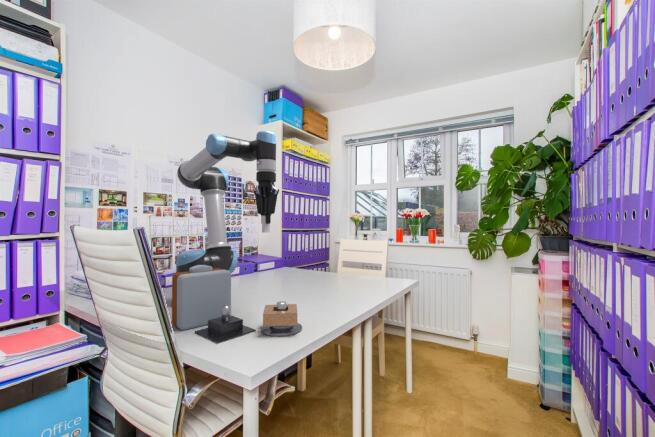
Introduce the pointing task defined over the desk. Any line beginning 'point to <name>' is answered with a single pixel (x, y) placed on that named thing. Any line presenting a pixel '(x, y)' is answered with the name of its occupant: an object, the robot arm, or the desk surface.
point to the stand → (224, 327)
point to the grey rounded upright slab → (199, 296)
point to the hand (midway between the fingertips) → (265, 232)
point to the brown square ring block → (280, 315)
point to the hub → (281, 330)
